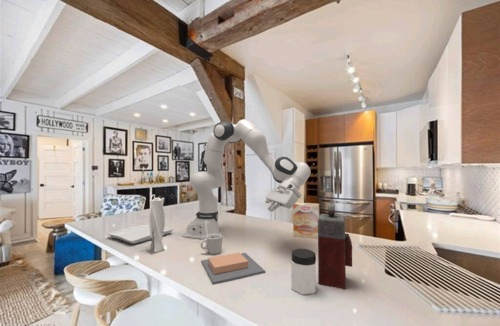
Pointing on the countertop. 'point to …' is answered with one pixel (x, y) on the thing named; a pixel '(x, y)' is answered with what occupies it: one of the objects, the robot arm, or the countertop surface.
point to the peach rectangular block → (227, 263)
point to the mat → (234, 271)
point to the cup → (213, 243)
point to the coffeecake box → (305, 220)
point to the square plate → (136, 233)
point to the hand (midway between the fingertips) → (270, 210)
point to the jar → (303, 271)
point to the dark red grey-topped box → (333, 249)
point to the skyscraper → (156, 225)
